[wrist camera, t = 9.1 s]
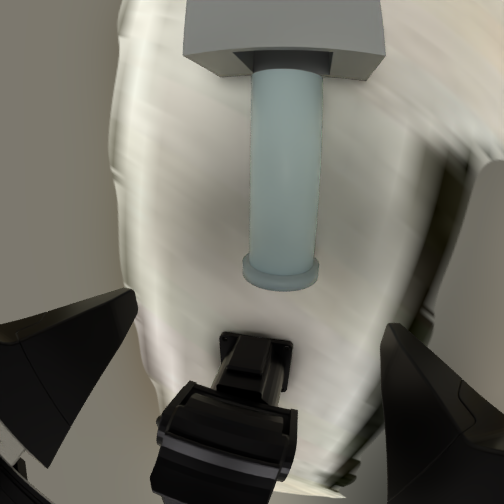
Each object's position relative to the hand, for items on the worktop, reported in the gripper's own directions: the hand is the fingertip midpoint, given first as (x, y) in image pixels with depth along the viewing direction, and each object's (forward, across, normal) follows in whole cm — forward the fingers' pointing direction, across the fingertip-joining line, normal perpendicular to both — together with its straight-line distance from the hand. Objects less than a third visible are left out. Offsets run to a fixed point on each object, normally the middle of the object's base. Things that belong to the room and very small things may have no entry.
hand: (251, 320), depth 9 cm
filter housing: (+12, 0, -15) cm, 19 cm away
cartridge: (+11, 0, -3) cm, 12 cm away
